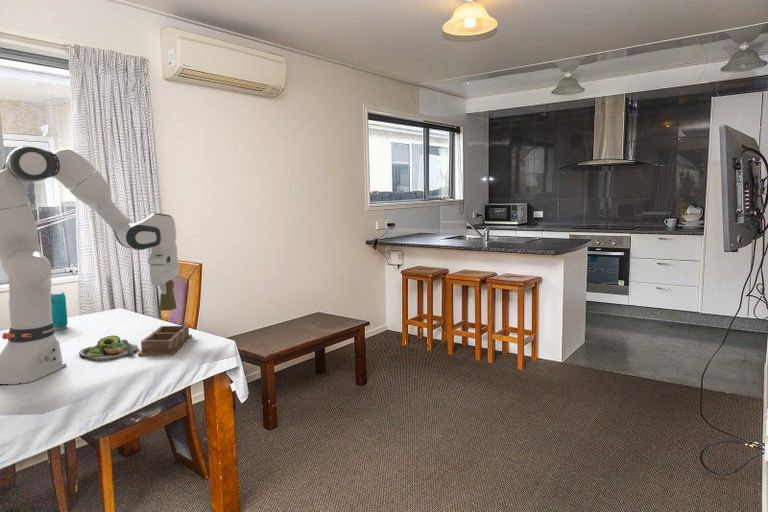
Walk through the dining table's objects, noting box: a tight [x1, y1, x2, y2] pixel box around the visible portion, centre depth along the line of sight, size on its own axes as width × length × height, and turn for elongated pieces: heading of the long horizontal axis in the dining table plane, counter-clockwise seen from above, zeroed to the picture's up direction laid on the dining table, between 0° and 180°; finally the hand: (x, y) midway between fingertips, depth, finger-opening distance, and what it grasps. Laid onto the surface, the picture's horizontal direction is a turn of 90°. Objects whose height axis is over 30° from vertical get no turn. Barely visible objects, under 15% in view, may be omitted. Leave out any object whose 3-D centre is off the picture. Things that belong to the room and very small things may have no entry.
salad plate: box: [78, 335, 139, 361], centre depth 178 cm, size 19×18×5 cm
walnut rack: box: [137, 325, 193, 357], centre depth 186 cm, size 22×12×5 cm, turn 4°
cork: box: [159, 280, 177, 312], centre depth 189 cm, size 6×6×11 cm
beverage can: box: [51, 291, 69, 330], centre depth 208 cm, size 6×6×15 cm
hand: (166, 292), depth 188 cm, fingers closed on cork, 4 cm apart
